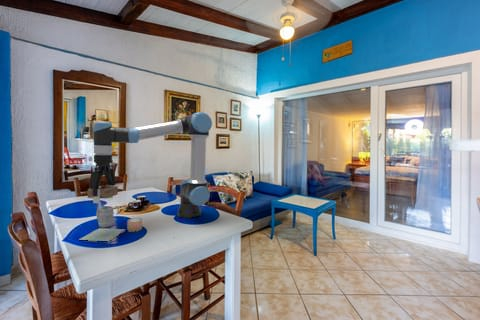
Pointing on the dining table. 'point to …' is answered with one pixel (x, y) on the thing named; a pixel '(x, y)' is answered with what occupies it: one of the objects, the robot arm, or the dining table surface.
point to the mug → (105, 216)
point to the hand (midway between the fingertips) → (103, 200)
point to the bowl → (134, 224)
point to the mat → (102, 234)
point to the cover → (104, 191)
